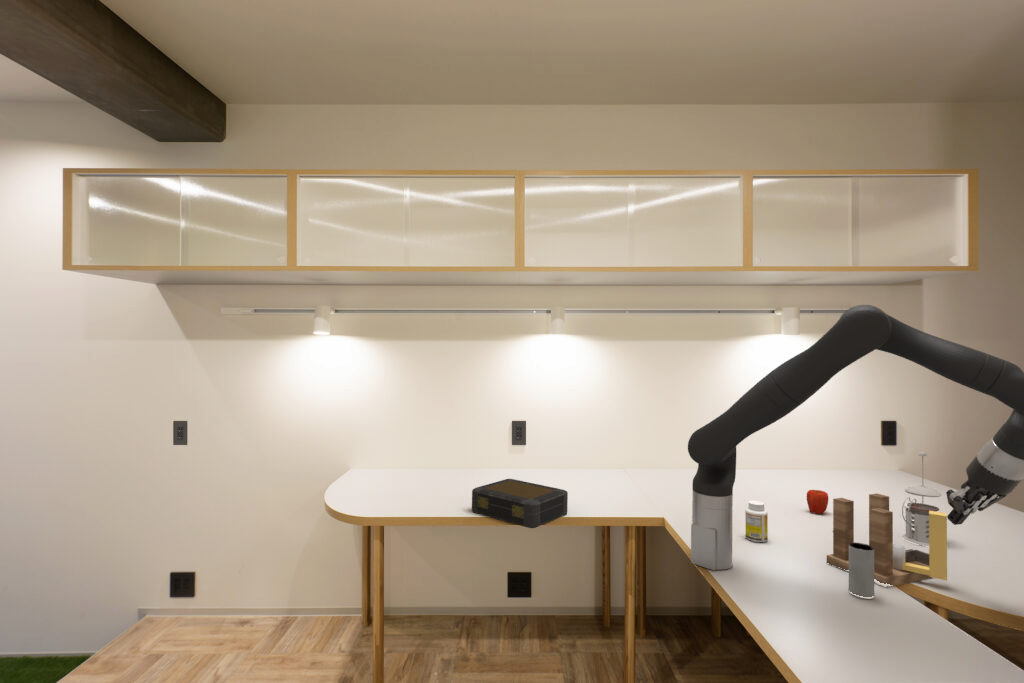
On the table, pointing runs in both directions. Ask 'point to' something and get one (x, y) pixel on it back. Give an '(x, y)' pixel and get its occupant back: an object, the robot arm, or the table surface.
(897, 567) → the hinged leg
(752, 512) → the supplement bottle
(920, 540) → the french press
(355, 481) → the table surface
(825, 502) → the apple
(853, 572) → the grey tube
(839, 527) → the wooden pillar stand
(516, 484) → the black carrying case
